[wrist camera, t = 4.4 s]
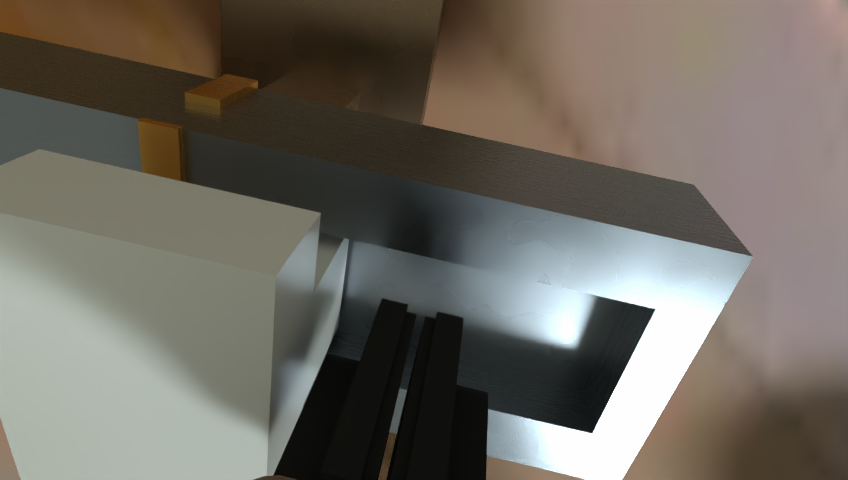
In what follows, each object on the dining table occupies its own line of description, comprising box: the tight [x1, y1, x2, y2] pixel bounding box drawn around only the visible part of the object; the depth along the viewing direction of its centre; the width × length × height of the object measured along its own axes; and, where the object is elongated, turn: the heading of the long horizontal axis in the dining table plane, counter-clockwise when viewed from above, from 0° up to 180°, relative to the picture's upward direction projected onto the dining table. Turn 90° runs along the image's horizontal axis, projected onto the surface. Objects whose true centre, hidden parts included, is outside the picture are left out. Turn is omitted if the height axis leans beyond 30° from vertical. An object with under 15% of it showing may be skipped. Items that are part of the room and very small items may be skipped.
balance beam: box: [0, 0, 753, 480], centre depth 17 cm, size 23×12×12 cm, turn 80°
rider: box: [0, 149, 349, 480], centre depth 11 cm, size 5×6×5 cm
